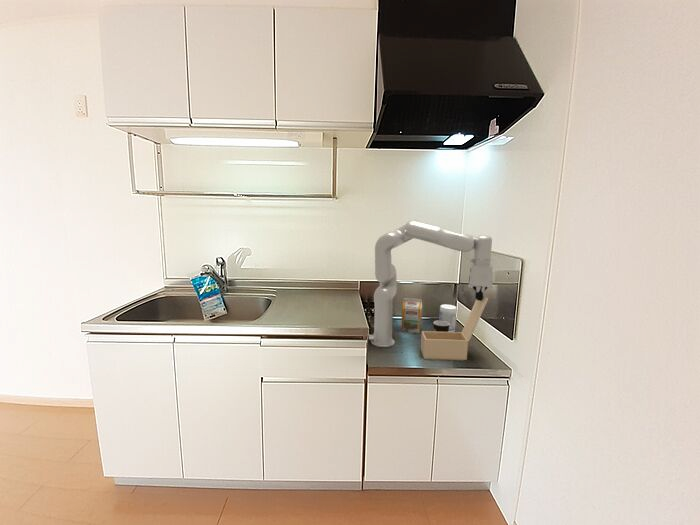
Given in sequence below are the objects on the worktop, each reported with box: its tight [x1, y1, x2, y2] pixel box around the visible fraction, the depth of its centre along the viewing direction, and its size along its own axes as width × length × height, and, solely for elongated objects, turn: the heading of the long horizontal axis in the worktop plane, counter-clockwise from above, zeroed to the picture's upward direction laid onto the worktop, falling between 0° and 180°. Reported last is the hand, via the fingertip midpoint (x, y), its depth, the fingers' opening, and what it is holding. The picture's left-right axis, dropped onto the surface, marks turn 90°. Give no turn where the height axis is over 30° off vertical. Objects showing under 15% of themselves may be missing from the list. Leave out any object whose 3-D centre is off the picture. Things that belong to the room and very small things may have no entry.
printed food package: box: [400, 297, 423, 335], centre depth 201 cm, size 11×11×19 cm
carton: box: [420, 330, 469, 361], centre depth 167 cm, size 20×11×10 cm, turn 87°
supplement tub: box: [438, 303, 457, 332], centre depth 201 cm, size 10×10×15 cm
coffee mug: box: [432, 320, 450, 332], centre depth 187 cm, size 12×9×10 cm
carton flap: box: [461, 294, 489, 342], centre depth 164 cm, size 22×11×1 cm
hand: (478, 299), depth 163 cm, fingers closed
